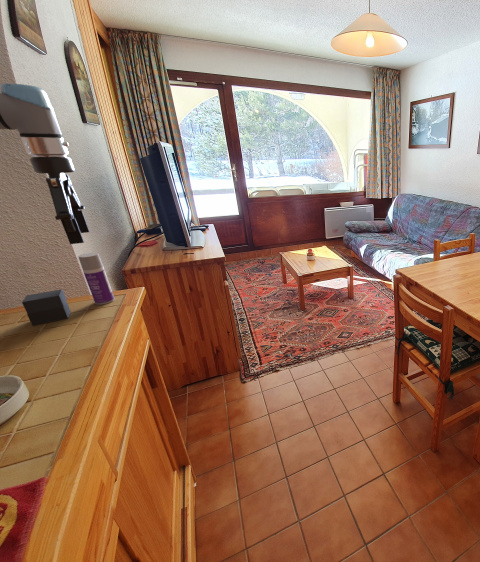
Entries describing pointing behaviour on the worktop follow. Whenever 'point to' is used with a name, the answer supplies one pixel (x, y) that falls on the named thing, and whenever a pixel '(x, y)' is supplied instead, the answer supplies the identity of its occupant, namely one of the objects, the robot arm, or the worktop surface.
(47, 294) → the dark grey block
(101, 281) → the container
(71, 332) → the worktop surface
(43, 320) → the black pad
